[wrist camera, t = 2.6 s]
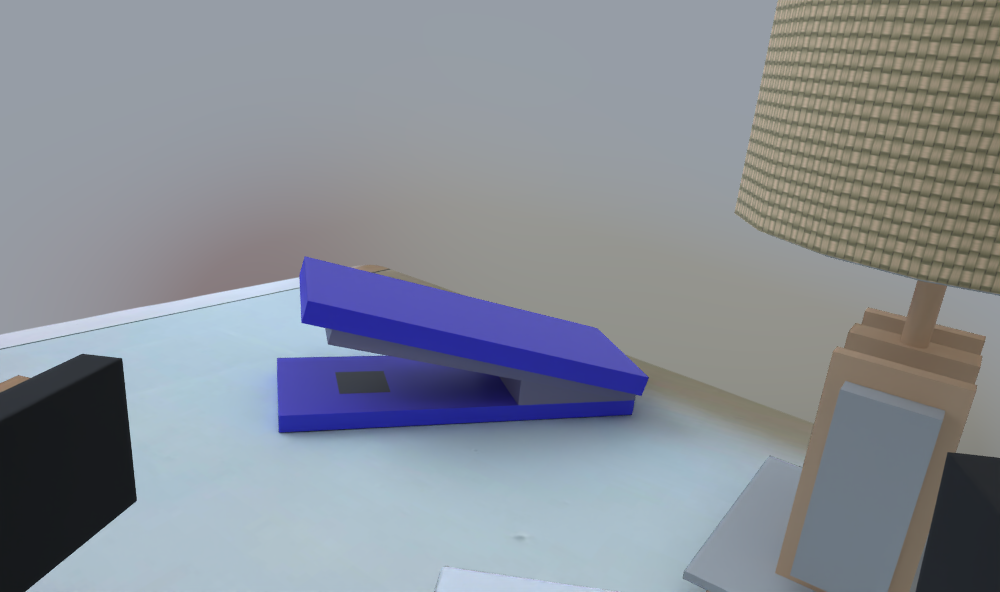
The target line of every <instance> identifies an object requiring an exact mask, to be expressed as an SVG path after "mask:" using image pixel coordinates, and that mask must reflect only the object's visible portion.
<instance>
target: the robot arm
mask: <svg viewBox="0 0 1000 592" xmlns="http://www.w3.org/2000/svg"><path fill="white" fill-rule="evenodd" d="M136 501H137V498H136V488H135V478H134V469H133V459H132V449H131V440H130V430H129V420H128V411H127V401H126V391H125V382H124V372H123V362H122V358H114V357H105V356H96V355H87V354H81V355H79V356H77V357H75V358H73V359H70V360H68V361H66V362H64V363H62V364H60V365H58V366H56V367H53V368H51V369H49V370H47V371H45V372H43V373H41V374H39V375H36V376H34V377H32V378H30V379H28V380H26V381H24V382H22V383H19V384H17V385H15V386H13V387H11V388H9V389H7V390H5V391H2V392H0V592H25V591H26V590H28V589H29V588H30V587H31V586H33V585H34V584H35V583H36V582H38V581H39V580H40V579H41V578H42V577H44V576H45V575H46V574H47V573H49V572H50V571H51V570H52V569H53V568H55V567H56V566H57V565H58V564H60V563H61V562H62V561H63V560H65V559H66V558H67V557H68V556H69V555H71V554H72V553H73V552H74V551H76V550H77V549H78V548H79V547H81V546H82V545H83V544H84V543H85V542H87V541H88V540H89V539H90V538H92V537H93V536H94V535H95V534H96V533H98V532H99V531H100V530H101V529H103V528H104V527H105V526H106V525H108V524H109V523H110V522H111V521H112V520H114V519H115V518H116V517H117V516H119V515H120V514H121V513H122V512H123V511H125V510H126V509H127V508H128V507H130V506H131V505H132V504H133V503H135V502H136ZM916 592H1000V458H995V457H986V456H977V455H969V454H960V453H952V452H947V457H946V461H945V465H944V470H943V474H942V478H941V483H940V487H939V492H938V496H937V500H936V505H935V509H934V513H933V518H932V522H931V526H930V531H929V535H928V539H927V544H926V548H925V552H924V557H923V561H922V565H921V570H920V574H919V579H918V583H917V587H916Z"/></svg>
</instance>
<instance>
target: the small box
mask: <svg viewBox="0 0 1000 592" xmlns="http://www.w3.org/2000/svg"><path fill="white" fill-rule="evenodd" d="M434 592H618V591H612V590H605V589H598V588H591V587H584V586H576V585H570V584H563V583H556V582H549V581H543V580H536V579H529V578H522V577H514V576H507V575H501V574H494V573H488V572H481V571H474V570H467V569H460V568H453V567H449V566H445V567H443V568H442V569H441V571H440V574H439V577H438V581H437V584H436V588H435V591H434Z"/></svg>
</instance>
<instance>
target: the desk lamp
mask: <svg viewBox="0 0 1000 592" xmlns="http://www.w3.org/2000/svg"><path fill="white" fill-rule="evenodd" d="M735 214H736V215H738V216H740V217H741V218H742V219H743V220H745V221H746V222H748V223H749V224H750V225H752V226H753V227H754V228H756V229H757V230H759V231H761V232H765V233H767V234H769V235H771V236H774V237H776V238H779V239H782V240H785V241H787V242H790V243H792V244H795V245H798V246H801V247H803V248H806V249H809V250H811V251H814V252H817V253H819V254H822V255H825V256H827V257H831V258H835V259H839V260H843V261H846V262H850V263H855V264H858V265H862V266H866V267H869V268H874V269H877V270H881V271H885V272H889V273H892V274H896V275H900V276H904V277H908V278H912V279H915V280H918V281H917V284H916V288H915V291H914V295H913V298H912V302H911V305H910V309H909V312H908V315H907V317H905V316H901V315H897V314H892V313H889V312H885V311H881V310H877V309H873V308H869V307H868V308H867V309H866V311H865V313H864V317H863V321H862V324H858V323H855V324H854V326H853V327H852V328H851V329H850V331H849V332H848V336H847V339H846V343H845V347H844V348H841V347H838V346H837V347H836V348H835V350H834V351H833V354H832V357H831V361H830V365H829V369H828V373H827V376H826V381H825V384H824V388H823V392H822V395H821V399H820V403H819V407H818V411H817V415H816V418H815V422H814V426H813V430H812V434H811V437H810V441H809V445H808V449H807V453H806V457H805V460H804V464H803V467H800V466H797V465H795V464H792V463H789V462H786V461H784V460H781V459H778V458H775V457H773V456H770V455H769V457H768V458H767V460H766V461H765V462H764V464H763V465H762V466H761V468H760V469H759V470H758V472H757V473H756V474H755V476H754V477H753V478H752V480H751V481H750V483H749V484H748V485H747V487H746V488H745V489H744V491H743V492H742V493H741V495H740V496H739V497H738V499H737V500H736V501H735V503H734V504H733V506H732V507H731V508H730V510H729V511H728V512H727V514H726V515H725V516H724V518H723V519H722V520H721V522H720V523H719V524H718V526H717V527H716V529H715V530H714V531H713V533H712V534H711V535H710V537H709V538H708V539H707V541H706V542H705V543H704V545H703V546H702V547H701V549H700V550H699V552H698V553H697V554H696V556H695V557H694V558H693V560H692V561H691V562H690V564H689V565H688V566H687V568H686V569H685V570H684V575H683V579H685V580H687V581H689V582H691V583H694V584H696V585H698V586H700V587H702V588H704V589H706V590H707V591H706V592H916V587H917V583H918V579H919V574H920V570H921V565H922V561H923V557H924V552H925V548H926V544H927V539H928V535H929V531H930V526H931V522H932V518H933V513H934V509H935V505H936V500H937V496H938V492H939V487H940V483H941V478H942V474H943V470H944V465H945V461H946V457H947V452H952V453H956V450H957V447H958V444H959V441H960V438H961V435H962V432H963V429H964V426H965V423H966V420H967V417H968V414H969V411H970V408H971V405H972V402H973V399H974V396H975V393H976V389H977V385H975V381H976V378H977V376H978V373H979V370H980V366H981V361H982V356H981V351H982V348H983V346H984V343H985V338H986V337H985V336H982V335H978V334H974V333H970V332H966V331H961V330H958V329H953V328H949V327H945V326H941V325H937V324H936V320H937V317H938V314H939V311H940V307H941V304H942V301H943V297H944V294H945V291H946V288H947V286H951V287H956V288H961V289H967V290H973V291H977V292H983V293H988V294H994V295H999V296H1000V0H778V3H777V7H776V12H775V17H774V22H773V27H772V32H771V37H770V42H769V47H768V52H767V56H766V61H765V66H764V72H763V77H762V81H761V86H760V91H759V96H758V101H757V105H756V111H755V115H754V120H753V125H752V130H751V136H750V140H749V145H748V150H747V155H746V159H745V164H744V169H743V174H742V179H741V184H740V189H739V194H738V199H737V204H736V209H735Z"/></svg>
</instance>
